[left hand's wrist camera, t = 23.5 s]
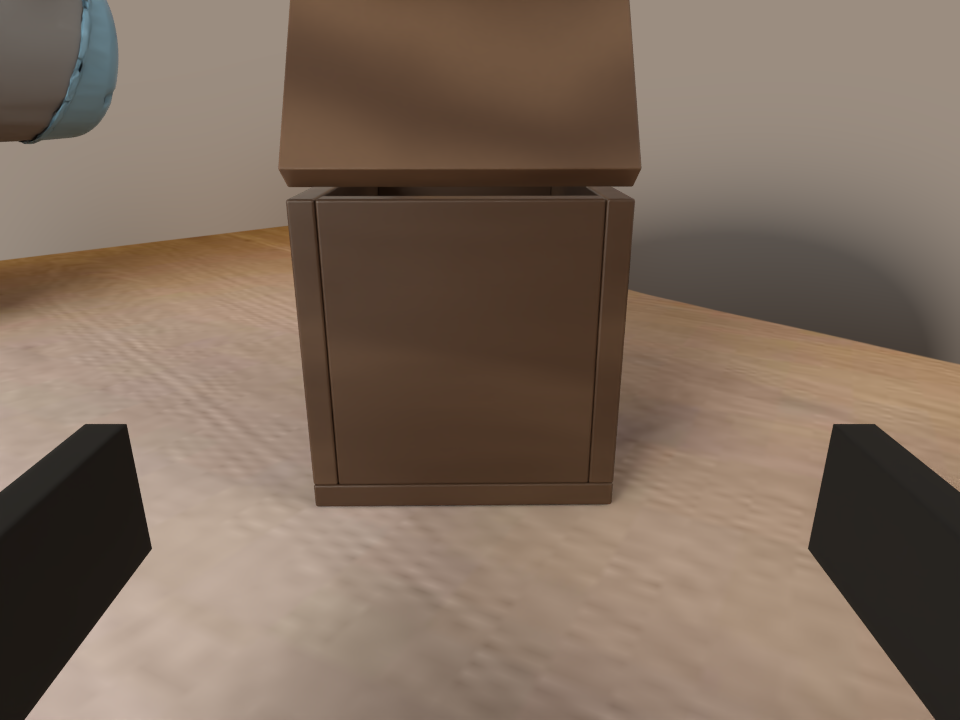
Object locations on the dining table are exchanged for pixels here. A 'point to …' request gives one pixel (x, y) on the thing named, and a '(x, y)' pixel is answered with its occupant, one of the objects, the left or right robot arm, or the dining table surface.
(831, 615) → the dining table surface
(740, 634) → the dining table surface
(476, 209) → the chest
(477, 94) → the lid
